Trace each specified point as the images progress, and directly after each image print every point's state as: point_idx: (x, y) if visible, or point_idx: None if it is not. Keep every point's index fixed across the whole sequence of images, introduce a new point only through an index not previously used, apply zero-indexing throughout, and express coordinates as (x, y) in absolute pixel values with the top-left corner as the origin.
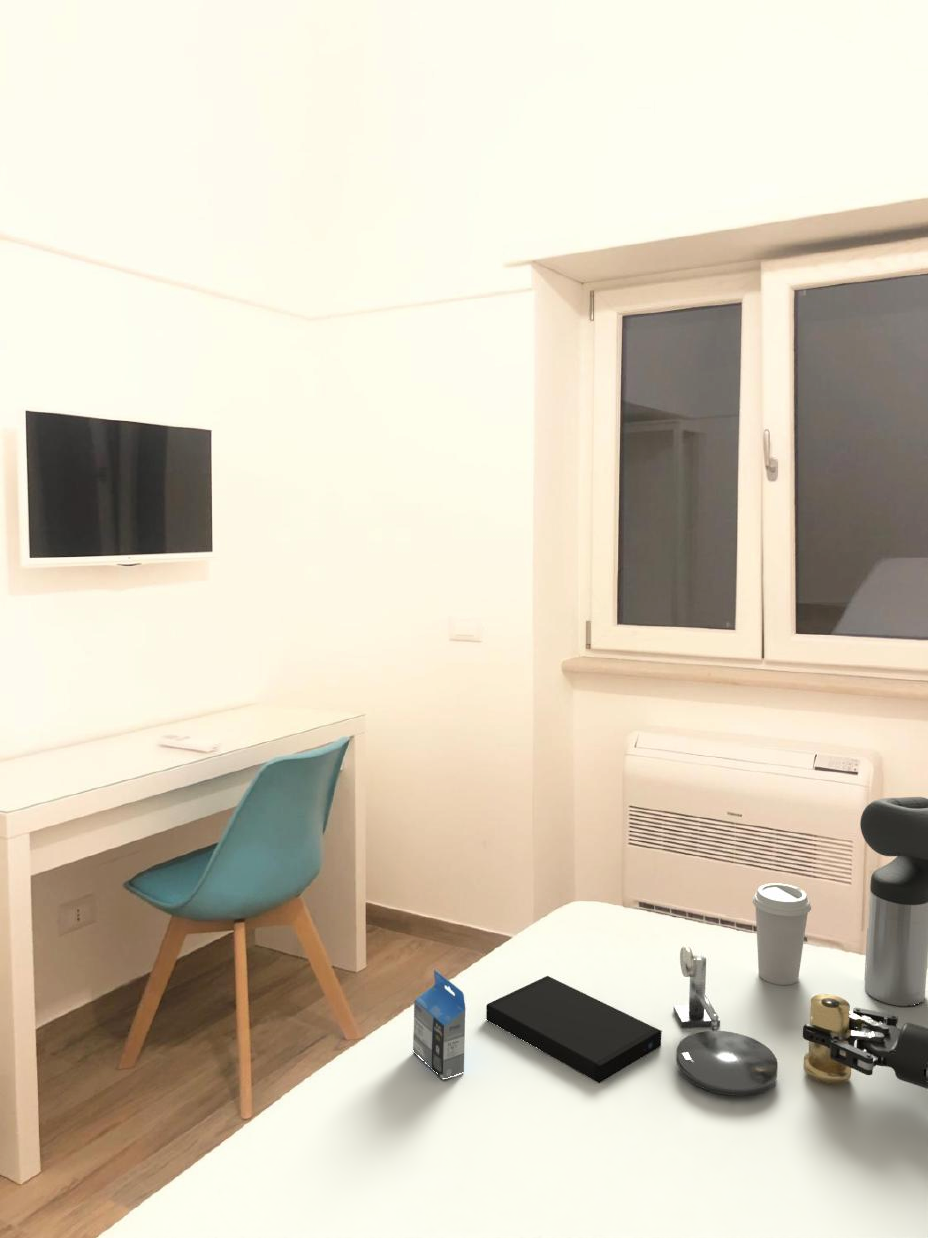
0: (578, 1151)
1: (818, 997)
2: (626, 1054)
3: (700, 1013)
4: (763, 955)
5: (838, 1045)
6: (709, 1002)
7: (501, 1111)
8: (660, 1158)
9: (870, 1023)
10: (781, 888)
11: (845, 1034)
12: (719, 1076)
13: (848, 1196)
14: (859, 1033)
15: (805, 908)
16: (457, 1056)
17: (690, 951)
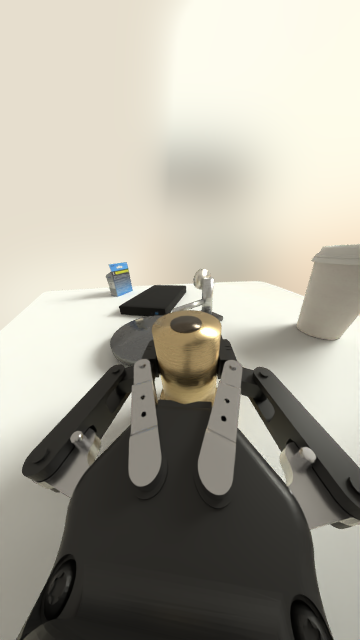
0: (61, 323)
1: (195, 313)
2: (137, 309)
3: None
4: (302, 306)
5: (101, 378)
6: (190, 304)
7: (94, 305)
8: (46, 344)
9: (213, 412)
10: None
11: (146, 378)
12: (121, 335)
13: None
14: (144, 399)
15: None
16: (113, 288)
17: (200, 270)
